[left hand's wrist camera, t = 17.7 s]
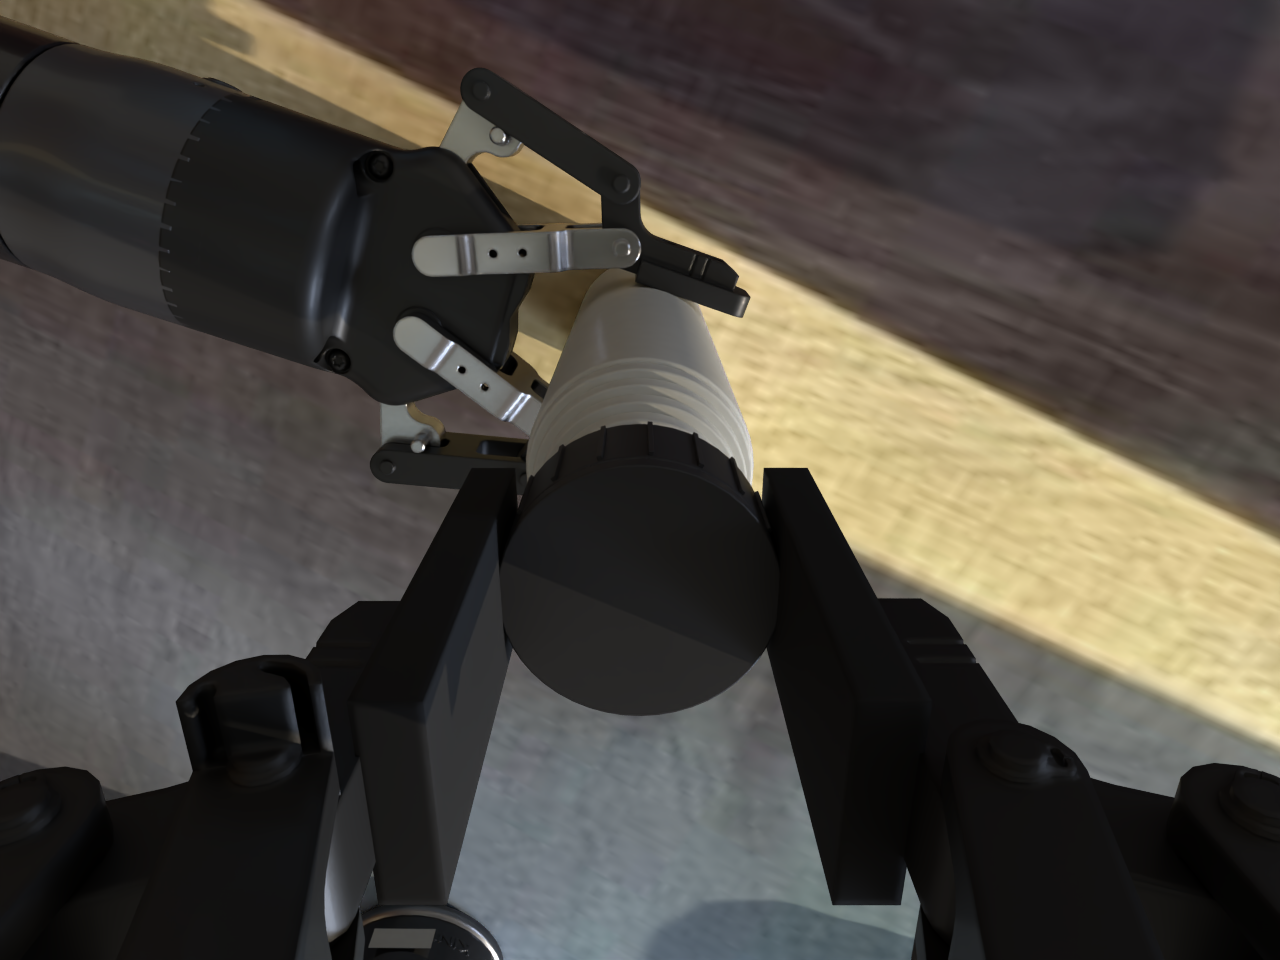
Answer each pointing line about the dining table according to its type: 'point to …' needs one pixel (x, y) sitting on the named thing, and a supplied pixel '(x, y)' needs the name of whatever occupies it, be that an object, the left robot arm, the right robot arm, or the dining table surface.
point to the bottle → (638, 373)
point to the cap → (639, 572)
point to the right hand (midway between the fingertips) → (711, 380)
